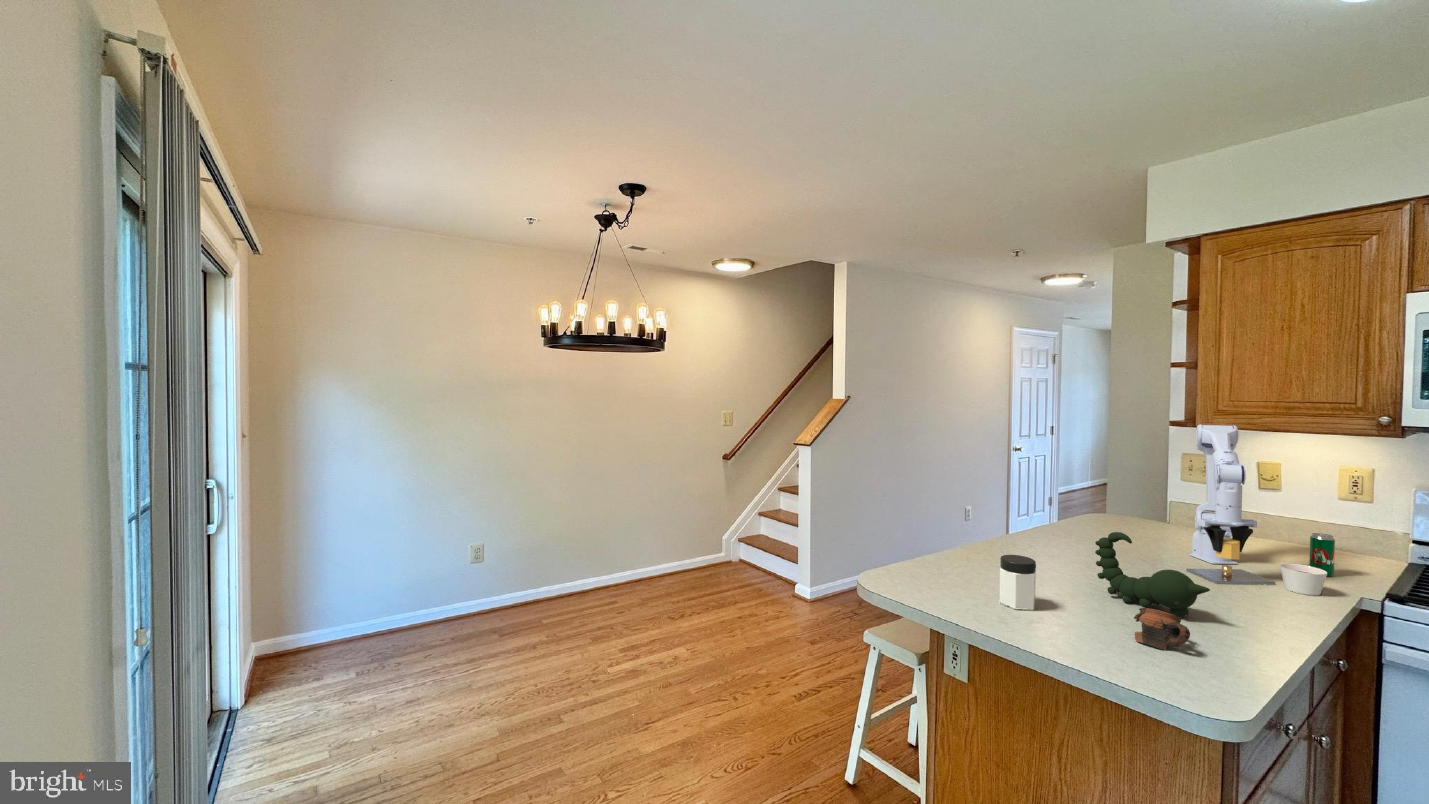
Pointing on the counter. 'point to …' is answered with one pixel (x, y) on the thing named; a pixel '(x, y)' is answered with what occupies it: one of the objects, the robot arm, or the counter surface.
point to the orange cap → (1230, 549)
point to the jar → (1017, 581)
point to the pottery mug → (1160, 629)
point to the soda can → (1322, 552)
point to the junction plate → (1235, 577)
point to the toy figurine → (1147, 582)
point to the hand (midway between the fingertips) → (1227, 551)
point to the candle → (1303, 578)
